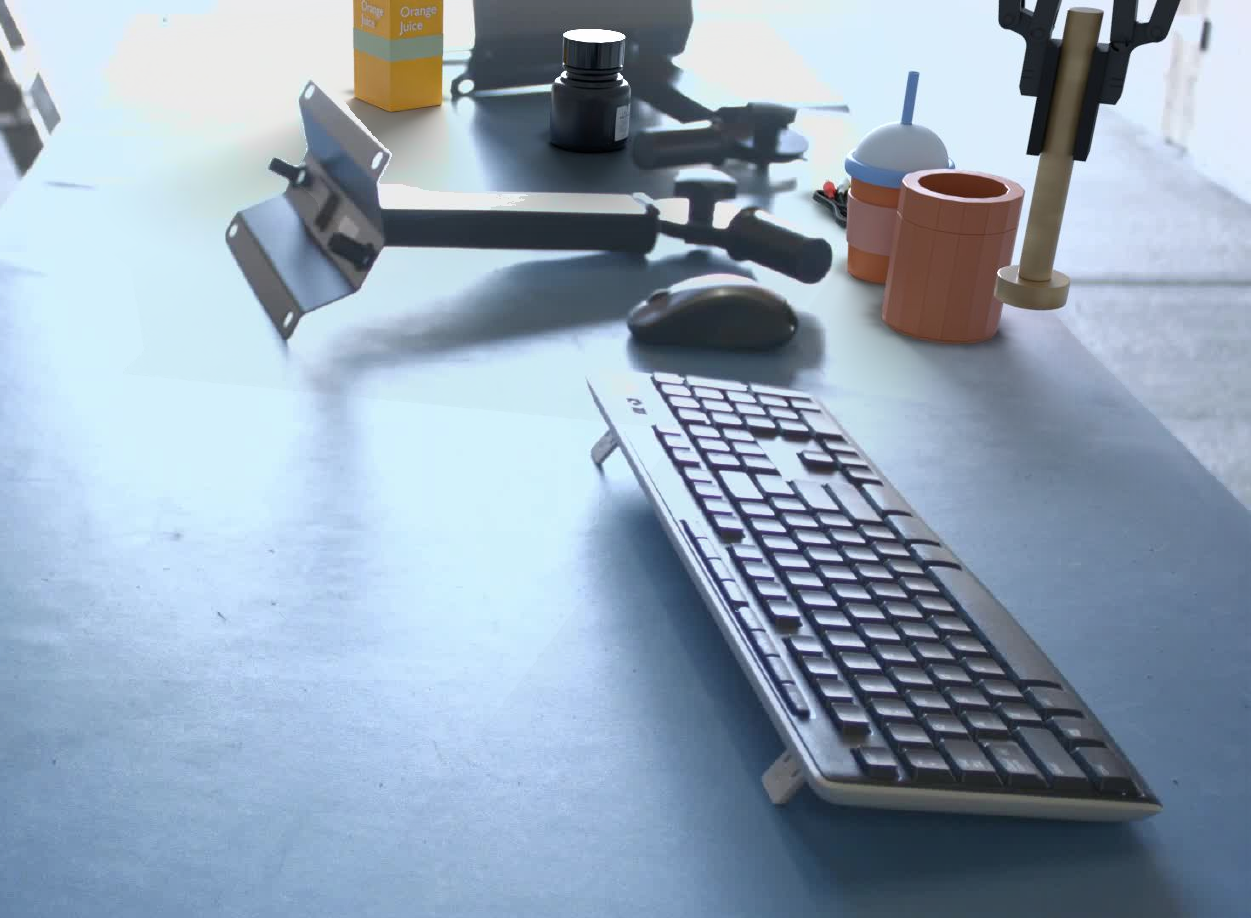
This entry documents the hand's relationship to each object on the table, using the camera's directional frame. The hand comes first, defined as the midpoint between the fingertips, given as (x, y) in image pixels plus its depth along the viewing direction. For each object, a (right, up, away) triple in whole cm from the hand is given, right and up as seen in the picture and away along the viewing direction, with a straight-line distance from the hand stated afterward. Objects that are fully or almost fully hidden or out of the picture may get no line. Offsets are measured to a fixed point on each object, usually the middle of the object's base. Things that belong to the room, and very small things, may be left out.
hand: (1058, 152), depth 93 cm
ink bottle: (-21, +17, +79) cm, 84 cm away
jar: (+3, -8, +30) cm, 31 cm away
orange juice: (-43, +26, +96) cm, 108 cm away
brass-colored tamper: (0, -8, +4) cm, 9 cm away
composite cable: (+2, +5, +58) cm, 58 cm away
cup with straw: (+1, -3, +41) cm, 41 cm away
